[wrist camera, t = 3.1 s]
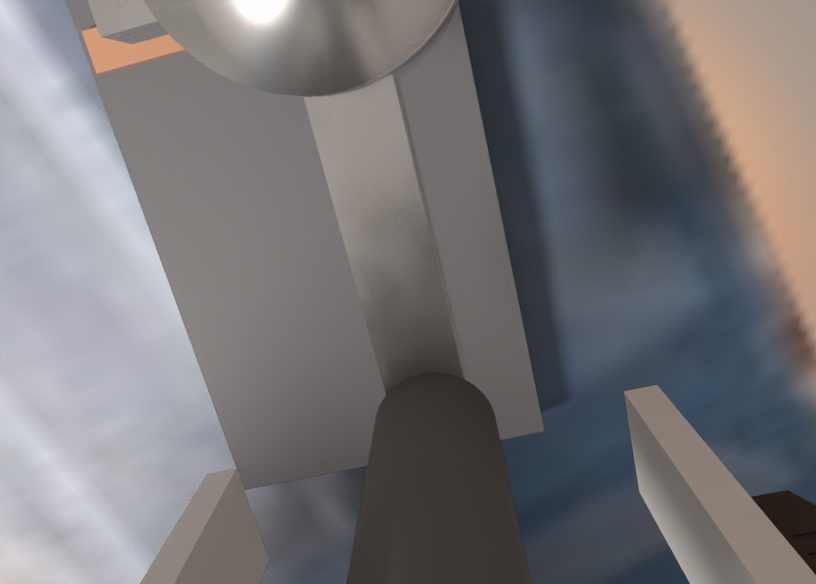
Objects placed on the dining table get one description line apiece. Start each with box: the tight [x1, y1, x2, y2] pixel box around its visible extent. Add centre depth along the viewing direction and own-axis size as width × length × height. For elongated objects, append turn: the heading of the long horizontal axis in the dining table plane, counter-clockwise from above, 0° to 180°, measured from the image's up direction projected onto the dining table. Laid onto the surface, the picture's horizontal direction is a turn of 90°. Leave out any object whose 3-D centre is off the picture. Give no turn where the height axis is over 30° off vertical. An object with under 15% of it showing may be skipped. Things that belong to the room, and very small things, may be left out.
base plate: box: [66, 0, 544, 490], centre depth 21 cm, size 24×13×6 cm, turn 14°
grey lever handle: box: [87, 0, 531, 584], centre depth 11 cm, size 18×11×14 cm, turn 14°
